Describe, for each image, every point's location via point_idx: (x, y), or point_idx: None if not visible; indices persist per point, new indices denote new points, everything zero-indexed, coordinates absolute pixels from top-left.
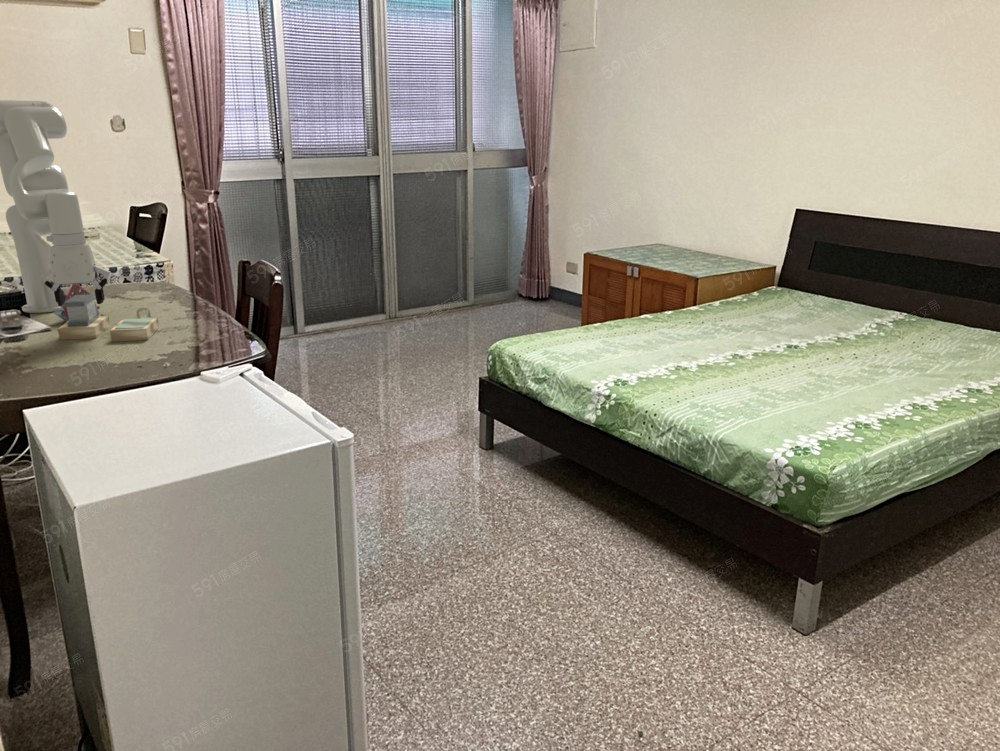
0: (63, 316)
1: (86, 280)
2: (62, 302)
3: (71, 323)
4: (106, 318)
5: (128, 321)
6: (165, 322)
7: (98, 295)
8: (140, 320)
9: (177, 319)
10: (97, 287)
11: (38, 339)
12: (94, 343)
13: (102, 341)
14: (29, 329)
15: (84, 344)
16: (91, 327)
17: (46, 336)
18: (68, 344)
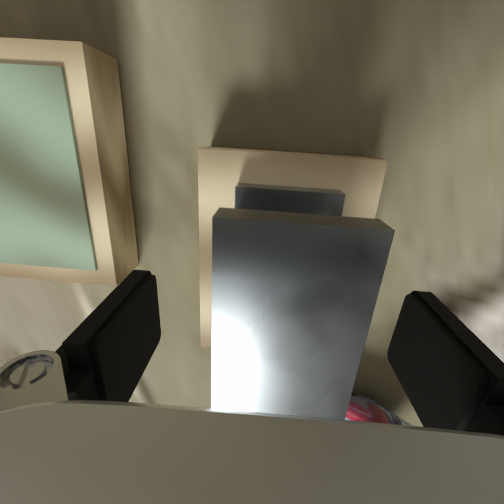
0: (390, 412)
1: (27, 438)
2: (406, 329)
3: (321, 192)
4: (200, 320)
5: (60, 218)
6: (32, 326)
7: (101, 310)
8: (10, 225)
9: (10, 353)
10: (50, 376)
11: (462, 185)
12: (189, 38)
13: (163, 74)
14: (499, 347)
15: (233, 27)
16: (212, 148)
17: (430, 229)
18: (313, 47)
